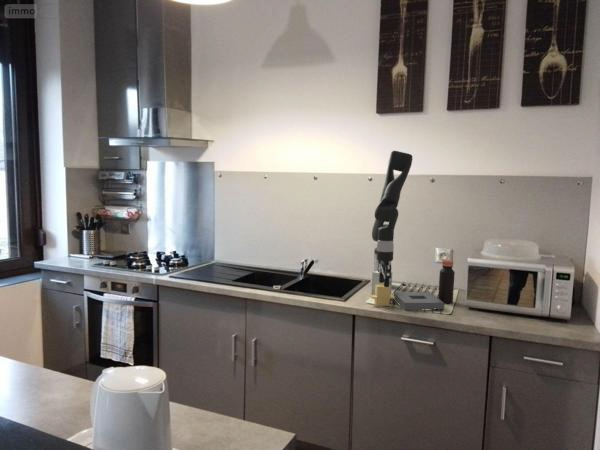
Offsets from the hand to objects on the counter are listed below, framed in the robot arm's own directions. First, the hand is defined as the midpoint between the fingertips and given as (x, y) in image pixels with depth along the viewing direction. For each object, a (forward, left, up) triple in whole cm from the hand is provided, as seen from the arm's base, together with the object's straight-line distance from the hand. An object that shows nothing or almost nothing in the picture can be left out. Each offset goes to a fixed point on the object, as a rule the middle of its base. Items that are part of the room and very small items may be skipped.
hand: (383, 284), depth 217 cm
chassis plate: (0, +17, -10) cm, 19 cm away
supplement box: (-13, +3, -10) cm, 17 cm away
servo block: (0, 0, -10) cm, 10 cm away
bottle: (-4, +32, -10) cm, 33 cm away
